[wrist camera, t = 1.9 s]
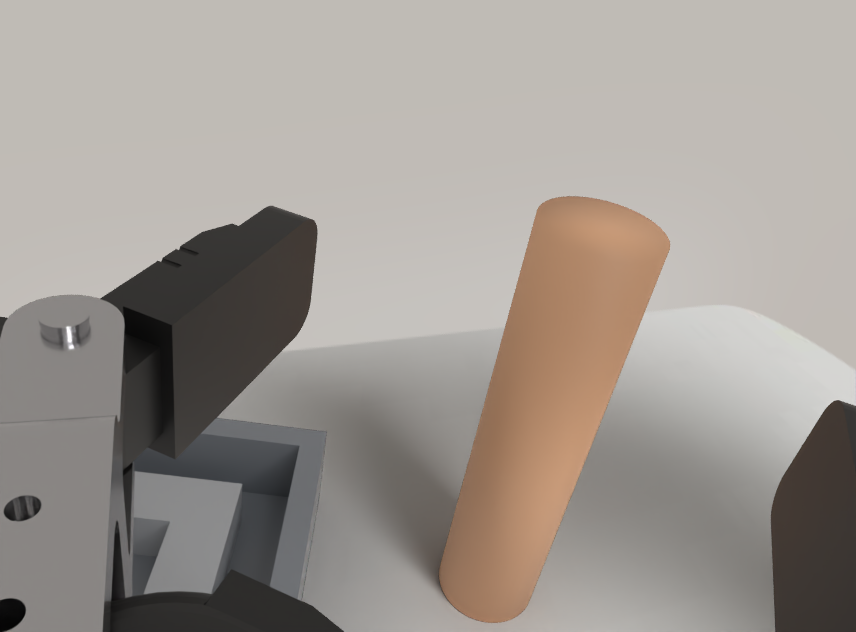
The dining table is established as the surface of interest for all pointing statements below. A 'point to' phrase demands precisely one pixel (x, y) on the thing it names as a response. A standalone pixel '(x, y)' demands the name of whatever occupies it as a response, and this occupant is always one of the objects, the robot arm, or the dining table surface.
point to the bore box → (227, 509)
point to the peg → (547, 396)
